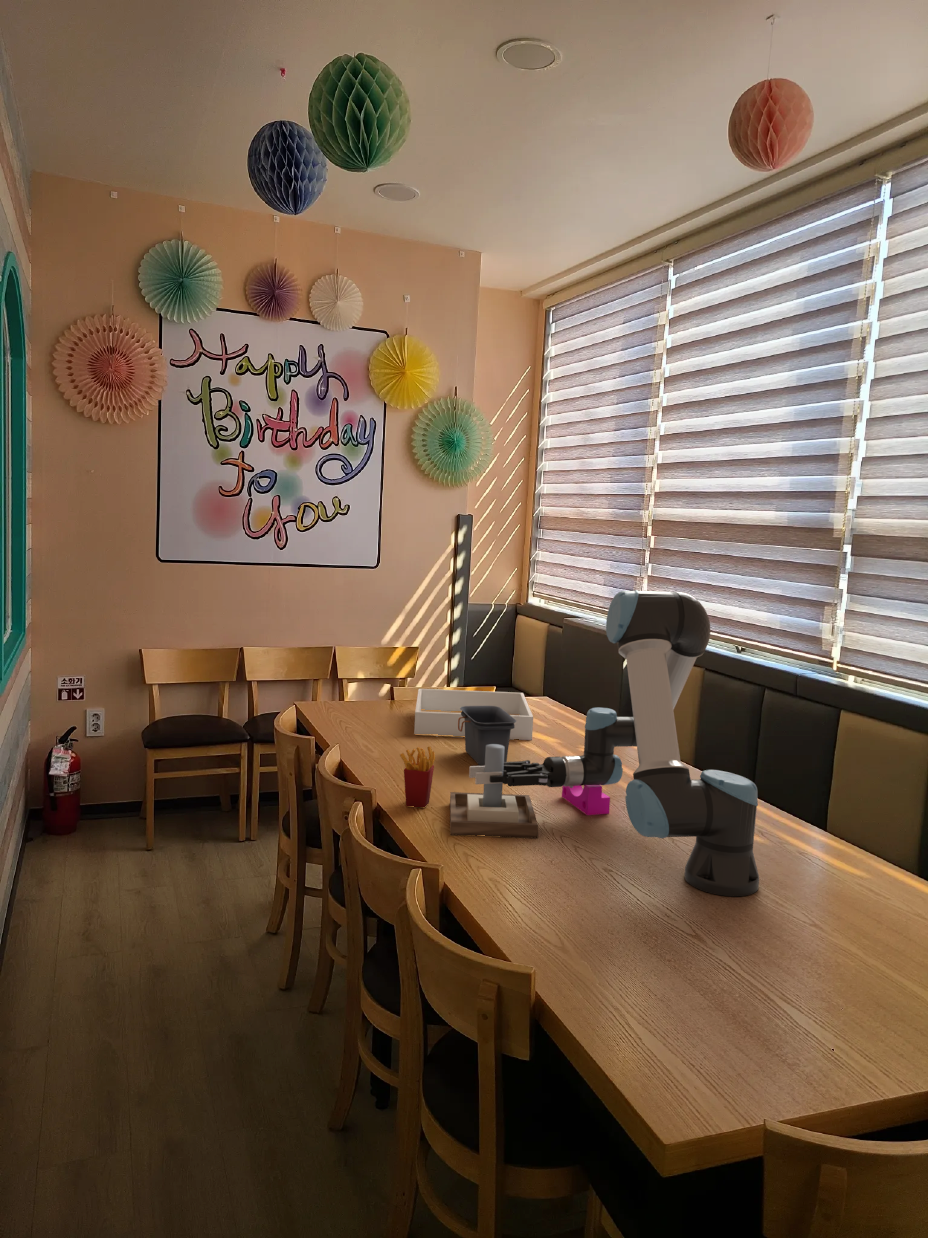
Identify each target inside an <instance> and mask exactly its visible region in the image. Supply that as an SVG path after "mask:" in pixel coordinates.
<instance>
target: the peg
mask: <svg viewBox="0 0 928 1238" xmlns="http://www.w3.org/2000/svg"><path fill="white" fill-rule="evenodd" d="M504 749H505V747H504V746H503V745H498V744H489V745H486V752H485V772H502V775H503V768H504ZM503 785H504V784H503V782H502V783H496V784H483V792H482V793H483V807H501V806H502V794H503Z"/></svg>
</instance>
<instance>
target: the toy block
mask: <svg viewBox="0 0 928 1238" xmlns="http://www.w3.org/2000/svg"><path fill="white" fill-rule="evenodd" d="M561 789H562V790H561V798H563V799H565V800H566V801H567V802H568V803H570V804H571V805H572V806H574V807H575V808H577V809H578V810H580V811H581V812H582V813H583V814H585V816H592V815H593V816H595V815H607V814H608V815H609V814H610V808H611V807H610V806H611V797H610V796H609V795H607V794H606V793H604V792H603V785H582V786H573V788H570V786H562V788H561Z"/></svg>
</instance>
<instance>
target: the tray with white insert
mask: <svg viewBox="0 0 928 1238" xmlns="http://www.w3.org/2000/svg"><path fill="white" fill-rule="evenodd" d="M467 794H475V795H483V792H482V793H481V792H459V791H458V792H457V791H456V792H455V791H454V792H453V791H450V794H449V795H450V796H449V820H450V821H449V830H450V833H449V835H450V836H458V835H475V836H474V837H478V836H477V835H485V836H500V837H499V838H512V837H515V838H516V839H517V838H519V839H538V832H539V823H538V820H537V817H536V812H535V810H534V806H533V803H532V801H531V796H530V795H529V794H513V793H512V794H510V793H508V794H507V793H506V794H505V793H502V796H515V799H516V803H517V807H518V811H519V816H518V823H511V822H484V821H468V820H467ZM485 836H484V837H485ZM515 838H514V839H515Z"/></svg>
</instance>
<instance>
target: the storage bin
mask: <svg viewBox="0 0 928 1238" xmlns="http://www.w3.org/2000/svg"><path fill="white" fill-rule="evenodd" d="M460 709H461V710H462V712H460V713H461V715H462V716H463V717H460V718H459V719H458V730H459V731H460V732H462V729H463V723H464V722H465V738H464V741H465V742H464V745H465V746H464V748H465V749H464V750H465V752H466V753H467V754H468V755H469V756H470V757H471V758H472V759H473V760H474V761H475V762H476V764H478V766H485V752H486V745H489V744H498V745H503V746H504V747H505V749H504V762H508V761H507V760H508V755H509V753H508V752H509V745H510V740H511V739H510V731H511V729H513V728H515V725H514V723H515V722H516V720H515V719H514V718H513V717H512V716H510V715H511V714H508V713H507V712H505V711H504V710H503V709H501V708H500V707H497V706H464V707H461V708H460ZM461 718H465V721H463V722H462V725H461V730H460V728H459V727H460V726H459V724H460V719H461Z"/></svg>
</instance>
